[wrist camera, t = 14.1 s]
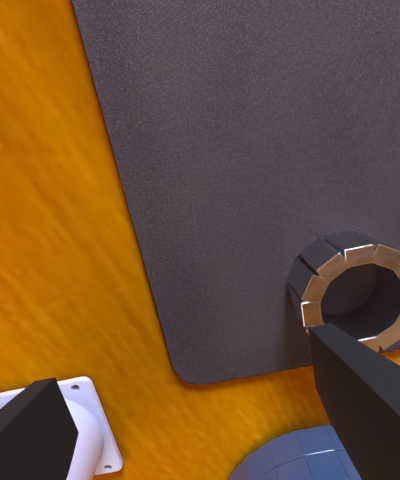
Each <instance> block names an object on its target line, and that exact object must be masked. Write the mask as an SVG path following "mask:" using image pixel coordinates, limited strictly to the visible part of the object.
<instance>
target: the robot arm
mask: <svg viewBox="0 0 400 480" xmlns="http://www.w3.org/2000/svg"><path fill="white" fill-rule="evenodd" d="M308 331H309V339H310V346H311V354H312V362H313V370H314V377H315V385H316V389H317V392H318V394H319V396H320V399H321V401H322V404H323V406H324V408H325V411H326V413H327V415H328V418H329V420H330V422H331V424H332V427H333V428H334V430H335V432H336V434H337V436H338V438H339V439H340V441H341V443H342V445H343V447H344V449H345V450H346V452H347V454H348V456H349V458H350V459H351V461H352V463H353V465H354V467H355V468H356V470H357V472H358V474H359V476H360V477H361V479H362V480H400V366H399V365H397V364H396V363H394V362H392V361H391V360H389V359H387V358H386V357H384V356H382V355H381V354H379V353H377V352H376V351H374V350H372V349H371V348H369V347H368V346H366V345H364V344H363V343H361V342H360V341H358V340H357V339H355V338H353V337H352V336H350V335H349V334H347V333H345V332H344V331H342V330H341V329H339V328H338V327H336V326H334V325H333V324H331V323H329V324H324V325H319V326H314V327H309V328H308ZM74 385H77V386H78V387H76V386H74ZM122 466H123V459H122V457H121V454H120V452H119V449H118V446H117V444H116V441H115V439H114V436H113V434H112V431H111V428H110V426H109V423H108V421H107V418H106V416H105V413H104V411H103V408H102V405H101V403H100V400H99V398H98V395H97V393H96V390H95V387H94V385H93V382H92V380H91V379H90V378H88V377H78V378H73V379H68V380H63V381H56V378H50V379H45V380H40V381H35V382H33V383H32V384H31V385H29V386H28V387H26V388H22V389H17V390H12V391H7V392H2V393H0V480H93V478H94V475H99V474H105V473H110V472H116V471H119V470H121V469H122Z"/></svg>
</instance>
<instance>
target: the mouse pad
mask: <svg viewBox="0 0 400 480" xmlns="http://www.w3.org/2000/svg"><path fill="white" fill-rule="evenodd" d="M71 1H72V4H73V8H74V12H75V15H76V19H77V23H78V26H79V30H80V34H81V37H82V41H83V44H84V48H85V52H86V55H87V59H88V63H89V66H90V70H91V74H92V77H93V81H94V84H95V88H96V92H97V95H98V99H99V103H100V106H101V110H102V113H103V117H104V121H105V124H106V128H107V132H108V135H109V139H110V143H111V146H112V150H113V153H114V157H115V161H116V164H117V168H118V172H119V175H120V179H121V183H122V186H123V190H124V193H125V197H126V201H127V204H128V208H129V212H130V215H131V219H132V222H133V226H134V230H135V233H136V237H137V240H138V244H139V247H140V251H141V255H142V258H143V262H144V265H145V269H146V273H147V276H148V280H149V283H150V287H151V291H152V294H153V298H154V301H155V305H156V309H157V312H158V316H159V319H160V323H161V327H162V330H163V334H164V337H165V341H166V345H167V348H168V352H169V355H170V359H171V363H172V365H173V368H174V370H175V372H176V373H177V375H178V376H179V377H180V378H181V379H182V380H184V381H185V382H188V383H191V384H210V383H216V382H221V381H227V380H232V379H238V378H244V377H249V376H255V375H260V374H266V373H271V372H277V371H282V370H288V369H294V368H299V367H305V366H310V365H313V362H312V354H311V346H310V339H309V335H308V333H307V332H306V331H305V330H304V328H303V326H302V325H301V323H300V322H299V320H298V318H297V317H296V315H295V313H294V312H293V310H292V309H291V306H290V304H289V301H288V294H287V287H286V283H287V282H288V280H287V276H288V274H289V272H290V270H291V267H292V265H293V263H294V260H295V258H296V257H298V258H301V256H300V255H299V253H300V252H301V251H303V250H304V249H305V248H306V247H308V246H309V245H310V244H311V243H313V242H314V241H315V240H316V239H318V238H320V239H321V240H323V236H324V235H329V234H333V233H338V232H343V231H349V232H352V231H356V232H359V233H362V234H365V235H368V236H371V237H374V238H376V239H378V240H380V241H383V242H385V243H387V244H389V245H391V246H393V247H395V248H397V249H399V250H400V0H71ZM301 259H302V258H301ZM375 286H376V267H375V265H374V264H373V263H369V264H364V265H360V266H355V267H350V268H348V269H347V270H345V271H344V272H343V273H341V274H340V275H339V276H337V277H336V278H335V279H333V280H332V281H331V282H330V283H329V285H328V287H327V289H326V291H325V294H324V296H323V298H322V300H321V302H320V306H321V312H322V313H325V314H329V315H332V316H335V315H340V314H345V313H350V312H353V311H354V310H356V309H357V308H358V307H360V306H361V305H362V304H364V303H365V302H367V301H368V299H369V297H370V295H371V293H372V292H373V290H374V288H375ZM398 349H400V340H398V341H397V342H395V343H394V344H392V345H391V346H389V347H388V348H386V349H385V350H383V349H382V348H381V347H380V346H379V352H377V353H382V352H387V351H393V350H398Z"/></svg>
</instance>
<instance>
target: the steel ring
mask: <svg viewBox="0 0 400 480" xmlns="http://www.w3.org/2000/svg"><path fill="white" fill-rule="evenodd" d="M299 255H300V256H301V258H302V259H301V258H298V257H296V258H295V260H294V263H293V265H292V267H291V270H290V272H289V274H288V276H287V280H288V282H287V283H286V287H287V294H288V301H289V304H290V306H291V309H292V310H293V312H294V313H295V315H296V317H297V318H298V320H299V322H300V323H301V325H302V326H303V328H304V330H305V331H306V332H307V333H308V335H309V331H308V328H309V327H314V326H319V325H324V324H329V323H331V324H333V325H334V326H336V327H338V328H339V329H341V330H342V331H344V332H345V333H347V334H349V335H350V336H352V337H353V338H355V339H357V340H358V341H360V342H361V343H363V344H364V345H366V346H368V347H369V348H371V349H372V350H374V351H376V352H379V346H380V347H381V348H382V349H383V350H385V349H386V348H388V347H389V346H391V345H392V344H394V343H395V342H397V341H398V340H400V250H399V249H397V248H395V247H393V246H391V245H389V244H387V243H385V242H383V241H380V240H378V239H376V238H374V237H371V236H368V235H365V234H362V233H359V232H356V231H352V232H349V231H343V232H338V233H333V234H329V235H324V236H323V240H321V239H320V238H318V239H316V240H315V241H314V242H313V243H311V244H310V245H309V246H308V247H306V248H305V249H304V250H303V251H301V252H300V253H299ZM369 263H373V264H374V265H375V267H376V286H375V288H374V290H373V292H372V293H371V295H370V297H369V299H368V301H367V302H365V303H364V304H362V305H361V306H360V307H358V308H357V309H356V310H354V311H353V312H350V313H345V314H340V315H335V316H332V315H329V314H325V313H322V312H321V306H320V302H321V300H322V298H323V296H324V294H325V291H326V289H327V287H328V285H329V283H330V282H331V281H332V280H333V279H335V278H336V277H337V276H339V275H340V274H341V273H343V272H344V271H345V270H347V269H348V268H350V267H355V266H360V265H364V264H369Z"/></svg>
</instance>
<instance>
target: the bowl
mask: <svg viewBox="0 0 400 480" xmlns="http://www.w3.org/2000/svg"><path fill="white" fill-rule="evenodd" d="M228 480H362V479H361V477H360V476H359V474H358V472H357V470H356V468H355V467H354V465H353V463H352V461H351V459H350V458H349V456H348V454H347V452H346V450H345V449H344V447H343V445H342V443H341V441H340V439H339V438H338V436H337V434H336V432H335V430H334V428H333V427H332V425H322V426H317V427H312V428H306V429H301V430H296V431H292V432H290V433H287V434H285V435H282V436H280V437H277V438H275V439H272V440H270V441H269V442H267V443H265V444H264V445H262V446H261V447H259V448H258V449H256V450H255V451H253V452H252V453H250V454H249V455H247V457H245V458H244V460H243V461H242V462H241V463H240V464H239V465H238V466H237V467H236V468H235V470H234V471H233V472H232V473H231V474H230V476H229V478H228Z"/></svg>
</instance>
